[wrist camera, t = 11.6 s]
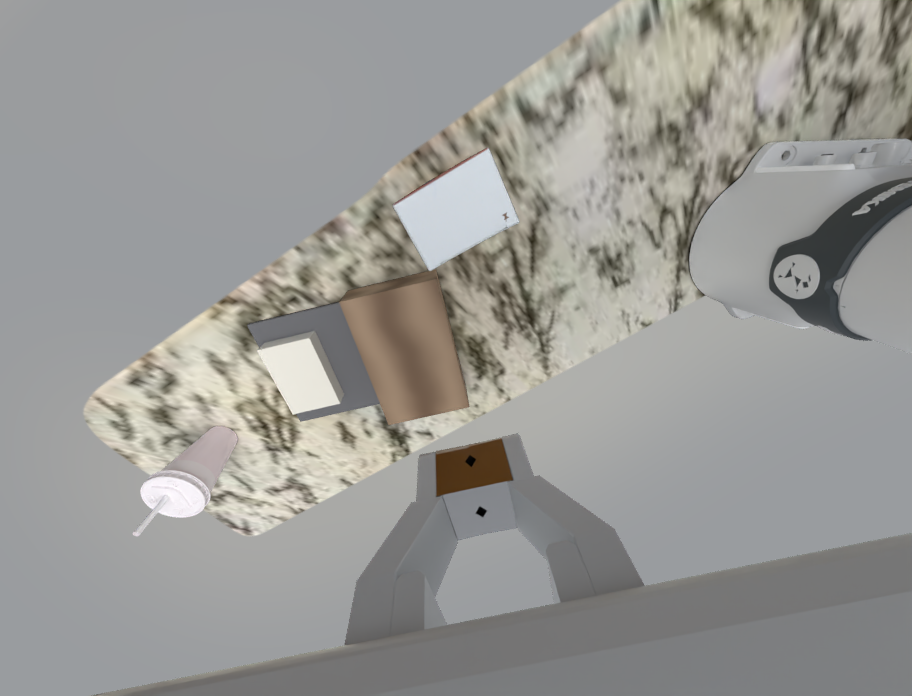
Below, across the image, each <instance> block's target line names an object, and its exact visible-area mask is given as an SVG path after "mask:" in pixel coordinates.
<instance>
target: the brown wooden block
mask: <svg viewBox="0 0 912 696" xmlns="http://www.w3.org/2000/svg"><path fill="white" fill-rule="evenodd" d="M339 303H340V306H341V308H342V311H343V313H344V316H345V318H346V321H347V323H348V326H349V328H350V330H351V333H352V335H353V338H354V340H355V343H356V345H357V348H358V350H359V353H360V355H361V358H362V360H363V363H364V365H365V367H366V370H367V372H368V375H369V377H370V380H371V382H372V385H373V387H374V390H375V392H376V395H377V397H378V400H379V402H380V405H381V407H382V409H383V412H384V414H385V417H386V419H387V422H388V424H389V425H391V424H396V423H400V422H405V421H409V420H414V419H418V418H422V417H427V416H431V415H436V414H440V413H445V412H449V411H454V410H458V409H463V408H467V407H469V402H468V396H467V390H466V386H465V382H464V378H463V374H462V370H461V366H460V362H459V358H458V354H457V350H456V346H455V342H454V338H453V334H452V330H451V326H450V322H449V318H448V314H447V310H446V306H445V302H444V298H443V294H442V290H441V286H440V282H439V279H438V275H437V271H436V269H435V270H432V271H427V272H423V273H419V274H415V275H410V276H406V277H402V278H398V279H394V280H390V281H386V282H381V283H377V284H373V285H369V286H365V287H361V288H357V289H352V290H348V291H347V293H346V294H345V295H344V297H343V298H342V299H341V300H340V302H339Z"/></svg>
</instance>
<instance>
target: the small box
mask: <svg viewBox="0 0 912 696" xmlns="http://www.w3.org/2000/svg"><path fill="white" fill-rule="evenodd" d="M393 208H394V210H395V211H396V213H397V215H398V217H399V219H400V220H401V222H402V224H403V226H404V228H405V229H406V231H407V233H408V235H409V237H410V238H411V240H412V242H413V244H414V245H415V247H416V249H417V251H418V253H419V254H420V256H421V258H422V260H423V261H424V263H425V265H426V267H427V268H428V270H429V271H432V270H434V269H435V268H437V267H438V266H440V265H442V264H443V263H445V262H447V261H448V260H450V259H452V258H454V257H455V256H457V255H459V254H461V253H463V252H465V251H466V250H468V249H470V248H472V247H473V246H475V245H477V244H479V243H481V242H483V241H484V240H486V239H488V238H490V237H492V236H494V235H495V234H497V233H499V232H501V231H503V230H505V229H507V228H509V227H511V226H513V225H515V224H518V223H519V219H518V216H517V214H516V212H515V209H514V207H513V204H512V202H511V200H510V197H509V195H508V192H507V190H506V188H505V185H504V183H503V180H502V178H501V176H500V173H499V171H498V168H497V166H496V164H495V161H494V159H493V156H492V154H491V152H490V149H489V148H486V149H484V150H482V151H480V152H478V153H477V154H475V155H473V156H471V157H469V158H468V159H466V160H464V161H462V162H461V163H459V164H457V165H455V166H454V167H452V168H450V169H449V170H447V171H445V172H444V173H442V174H440V175H438V176H437V177H435V178H433V179H432V180H430V181H428V182H427V183H425V184H424V185H422V186H421V187H419V188H417V189H416V190H414V191H413V192H411V193H410V194H408V195H407V196H405V197H404V198H402V199H401V200H399V201H397V202H396V203H395V204H393Z"/></svg>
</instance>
